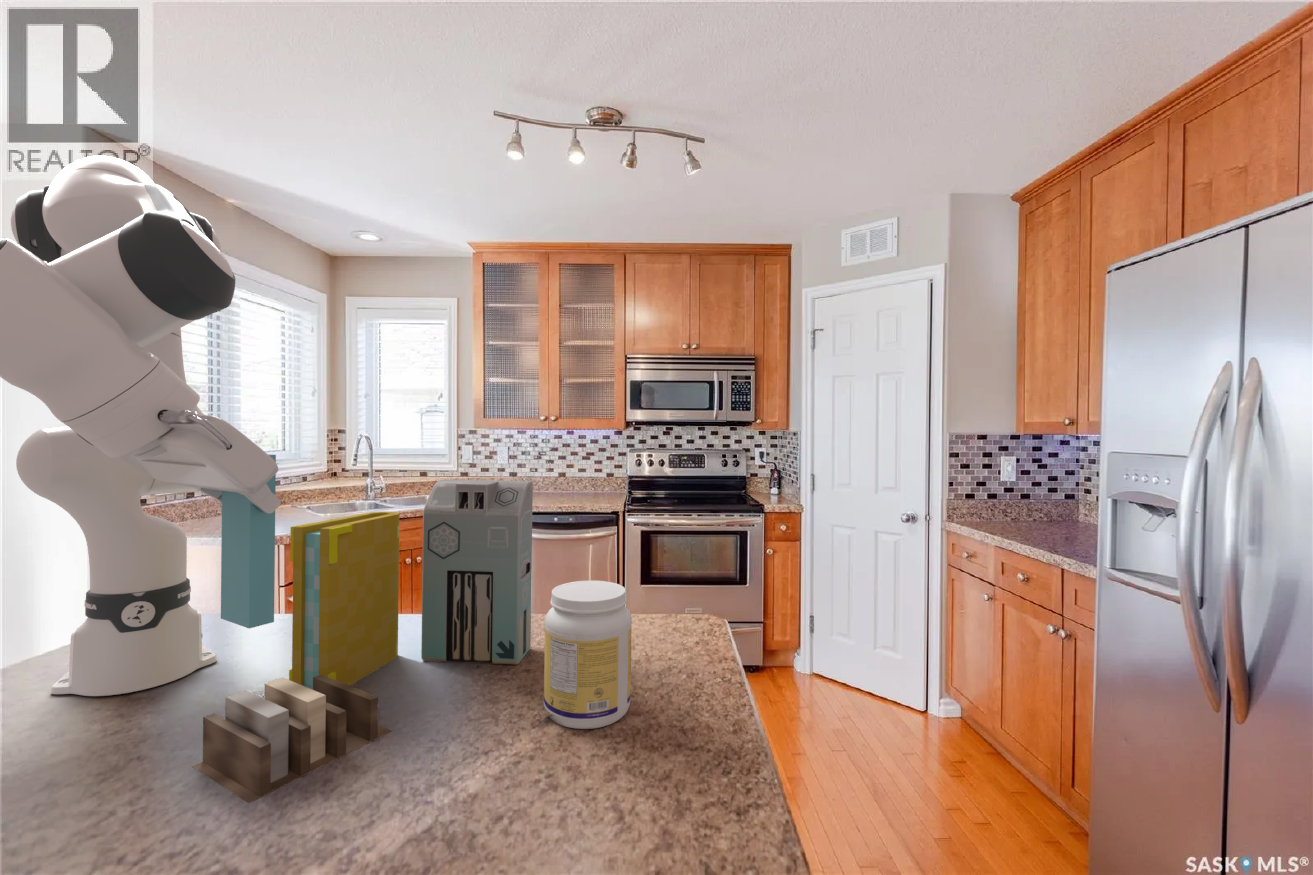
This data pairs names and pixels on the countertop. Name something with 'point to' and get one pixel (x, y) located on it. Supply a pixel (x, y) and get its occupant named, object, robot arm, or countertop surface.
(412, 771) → the countertop surface
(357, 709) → the rack
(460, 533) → the device
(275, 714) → the offcut front
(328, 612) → the book
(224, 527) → the tall sheet
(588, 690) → the supplement tub
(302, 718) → the block
